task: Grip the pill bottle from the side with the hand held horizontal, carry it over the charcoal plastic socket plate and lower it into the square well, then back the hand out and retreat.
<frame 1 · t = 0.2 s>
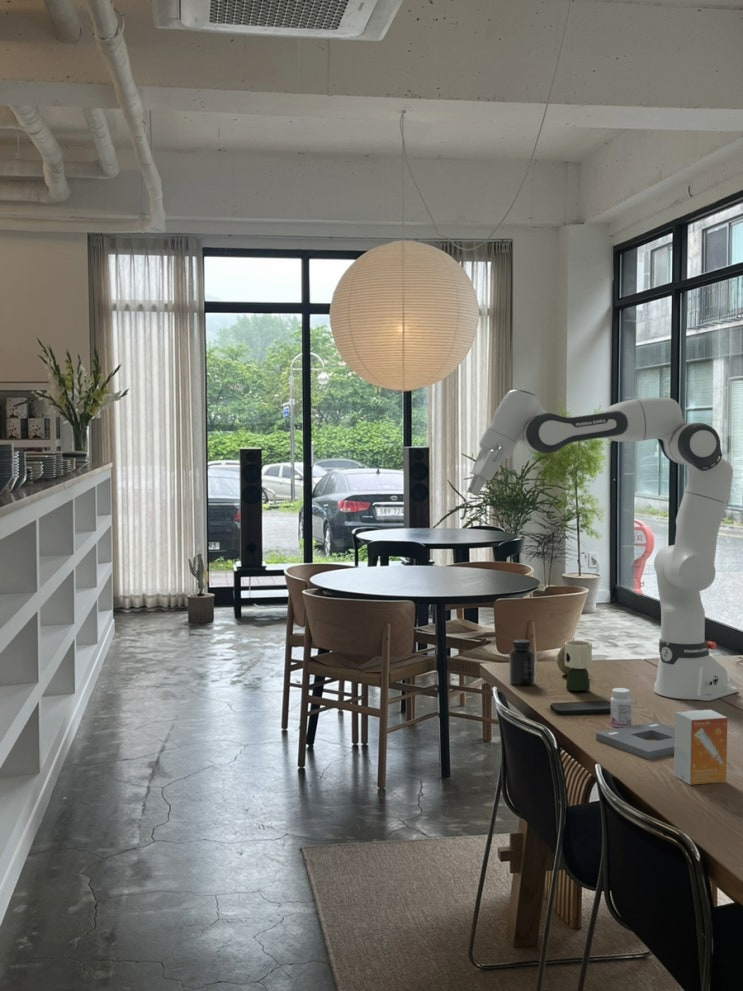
hand: (472, 492, 259), 54 cm above the table, tool tilted 30°, fingers open, 8 cm apart
character mug: (577, 691, 266), on the table
socket plate: (651, 742, 219), on the table
small box: (700, 780, 196), on the table
pill bottle: (620, 725, 234), on the table
supplement bottle: (521, 684, 274), on the table
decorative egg: (569, 675, 284), on the table
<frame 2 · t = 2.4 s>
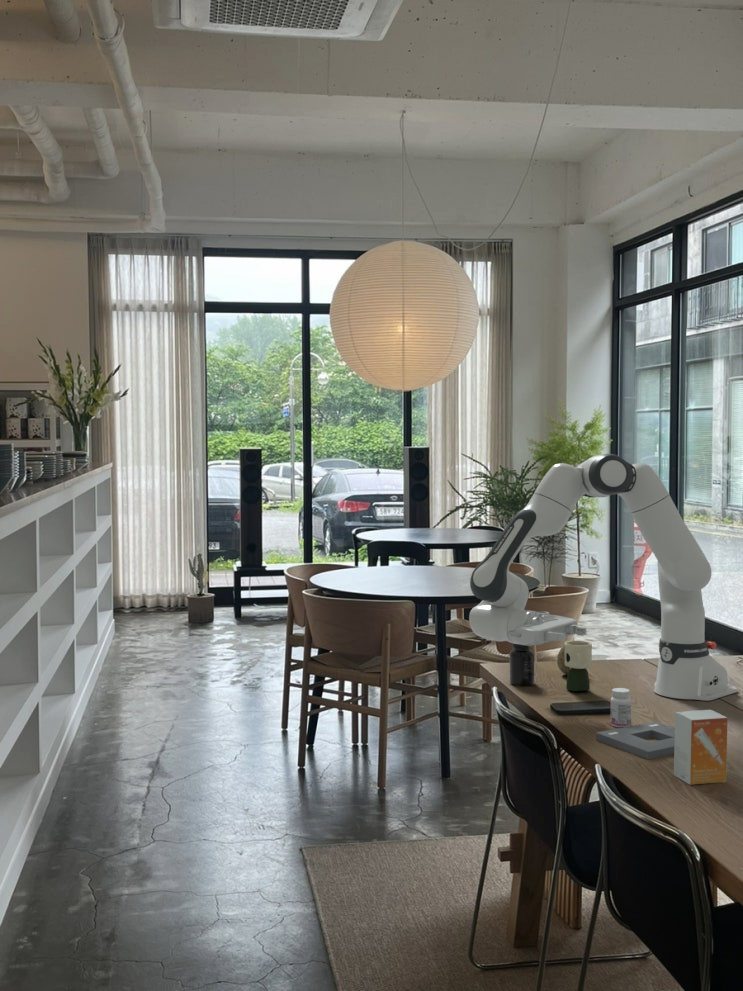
hand: (575, 634, 240), 20 cm above the table, tool horizontal, fingers open, 8 cm apart
nothing on the table moved.
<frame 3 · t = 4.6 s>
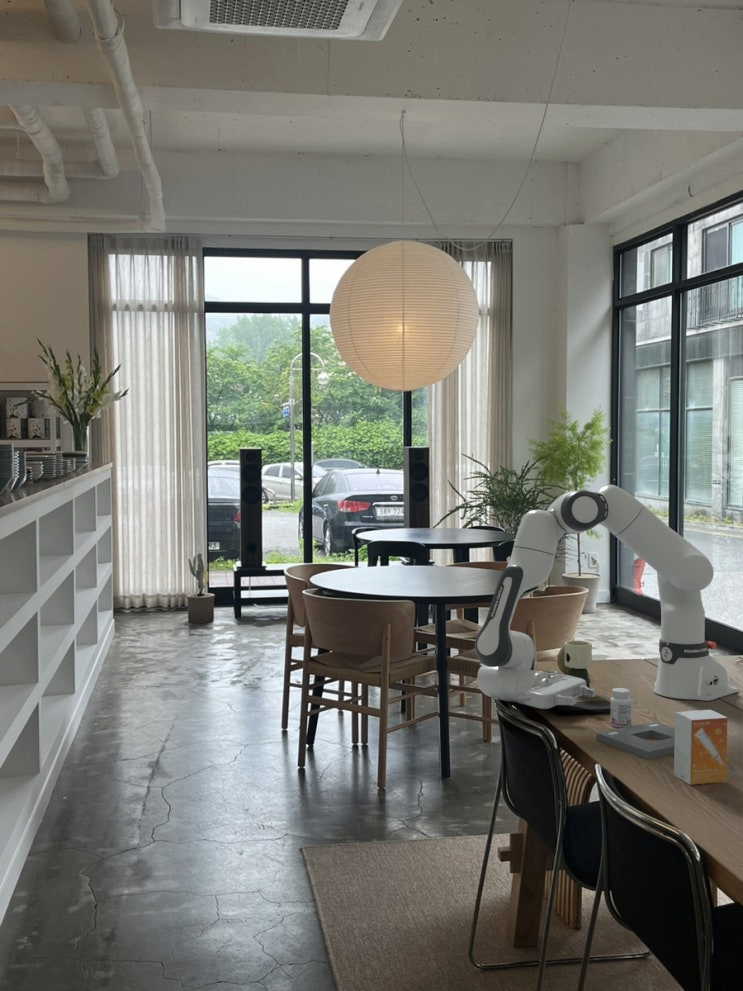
hand: (584, 697, 240), 5 cm above the table, tool horizontal, fingers open, 8 cm apart
nothing on the table moved.
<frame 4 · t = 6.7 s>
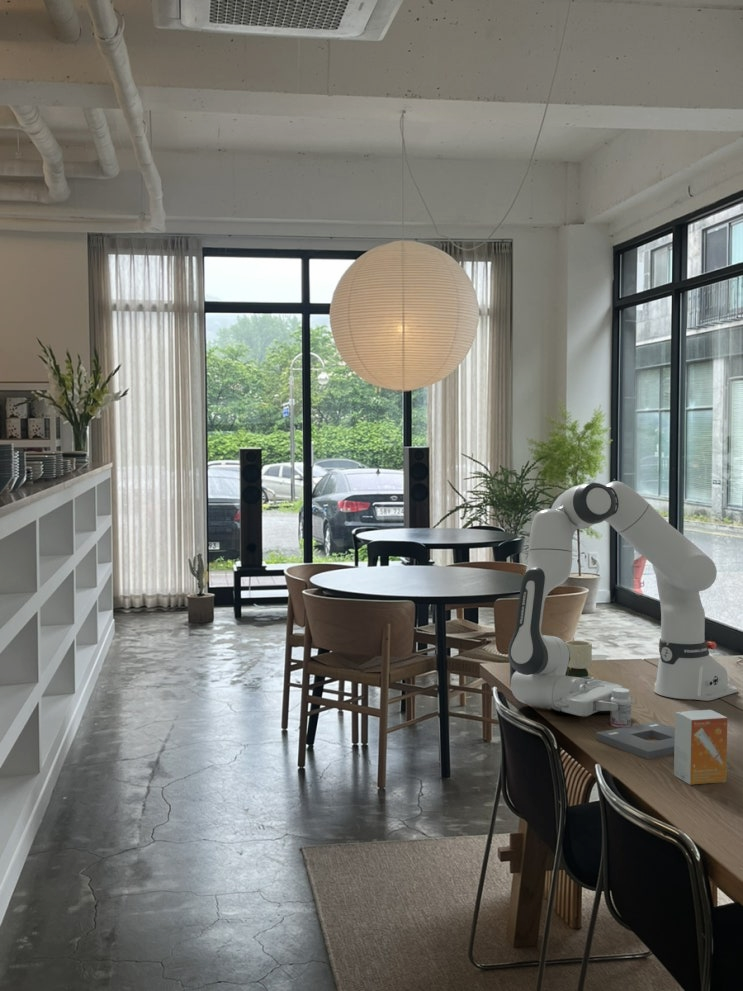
hand: (624, 704, 233), 5 cm above the table, tool horizontal, fingers closed on pill bottle, 5 cm apart
pill bottle: (620, 725, 234), on the table, touching gripper
everything else where it was.
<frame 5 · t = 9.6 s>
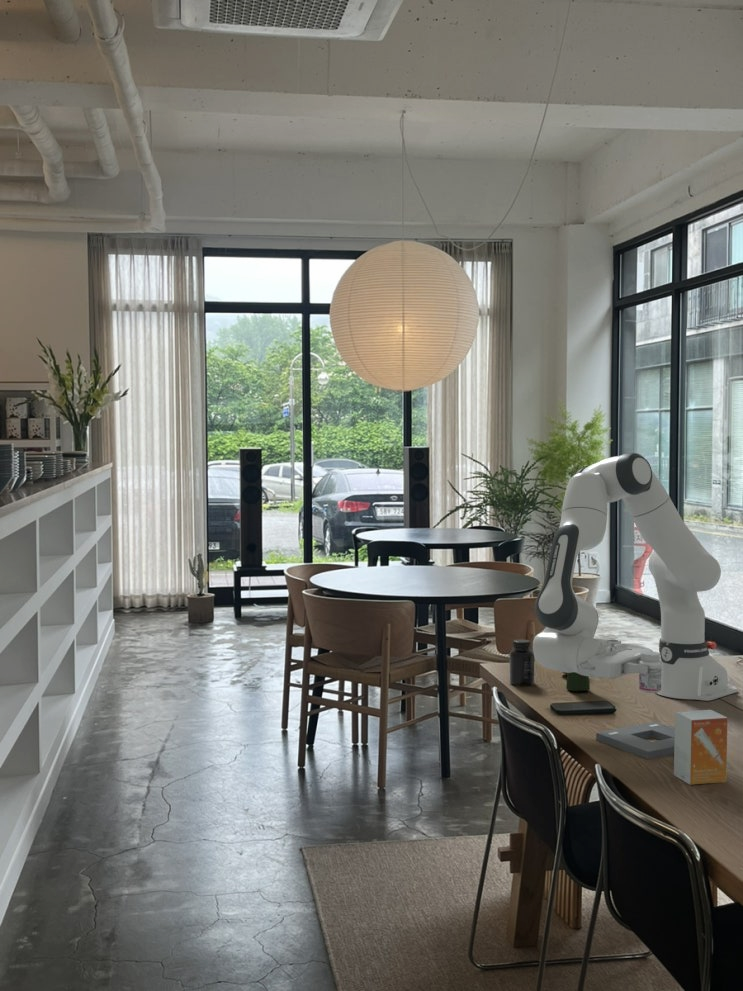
hand: (654, 667, 218), 17 cm above the table, tool horizontal, fingers closed on pill bottle, 5 cm apart
pill bottle: (649, 691, 219), point 11 cm above the table, touching gripper
everything else where it was.
when the fingers open (7 cm above the table, at t = 12.0 s): pill bottle drops 1 cm, resting in socket plate.
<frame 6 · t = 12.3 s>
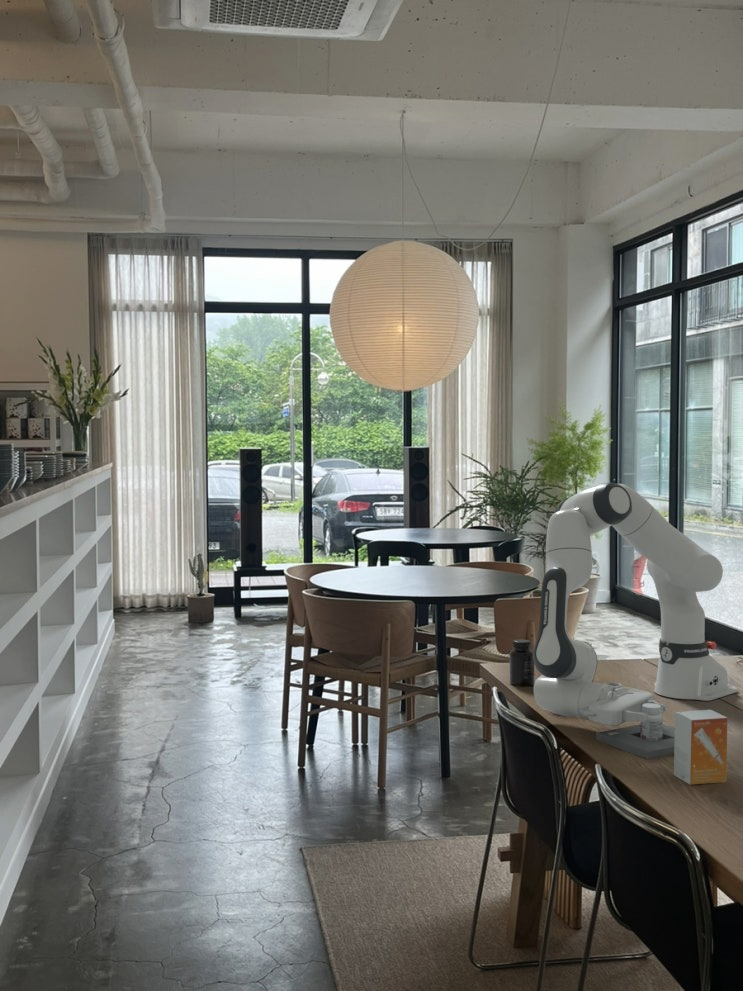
hand: (655, 713, 218), 7 cm above the table, tool horizontal, fingers open, 8 cm apart
pill bottle: (651, 743, 220), resting in socket plate
everything else where it was.
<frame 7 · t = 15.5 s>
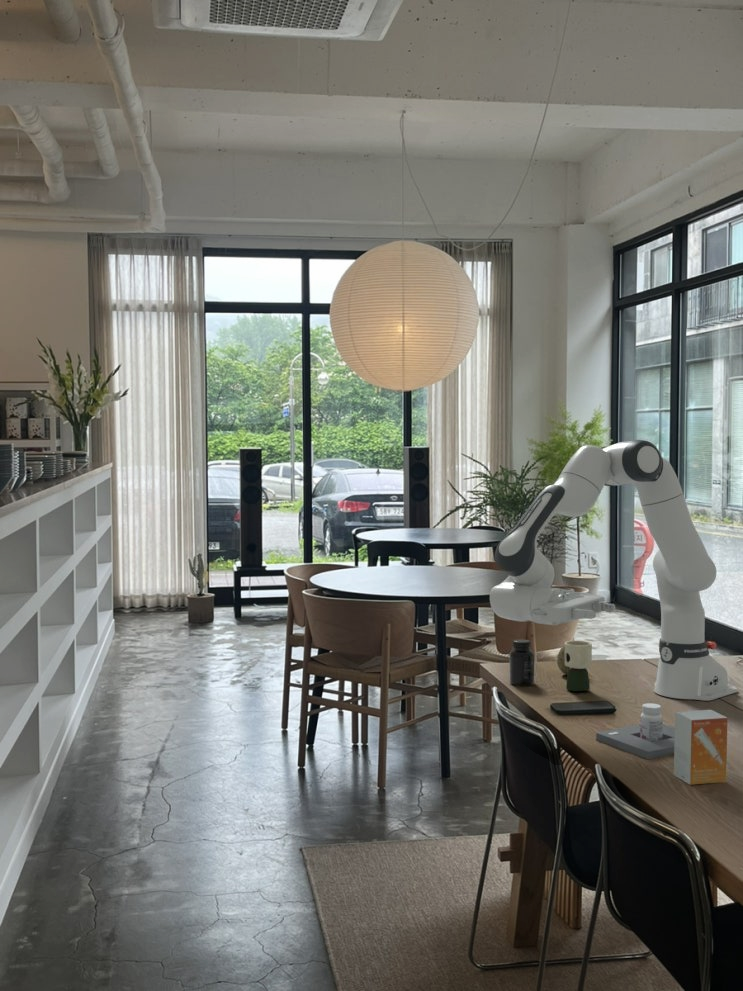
hand: (604, 611, 226), 28 cm above the table, tool horizontal, fingers open, 8 cm apart
nothing on the table moved.
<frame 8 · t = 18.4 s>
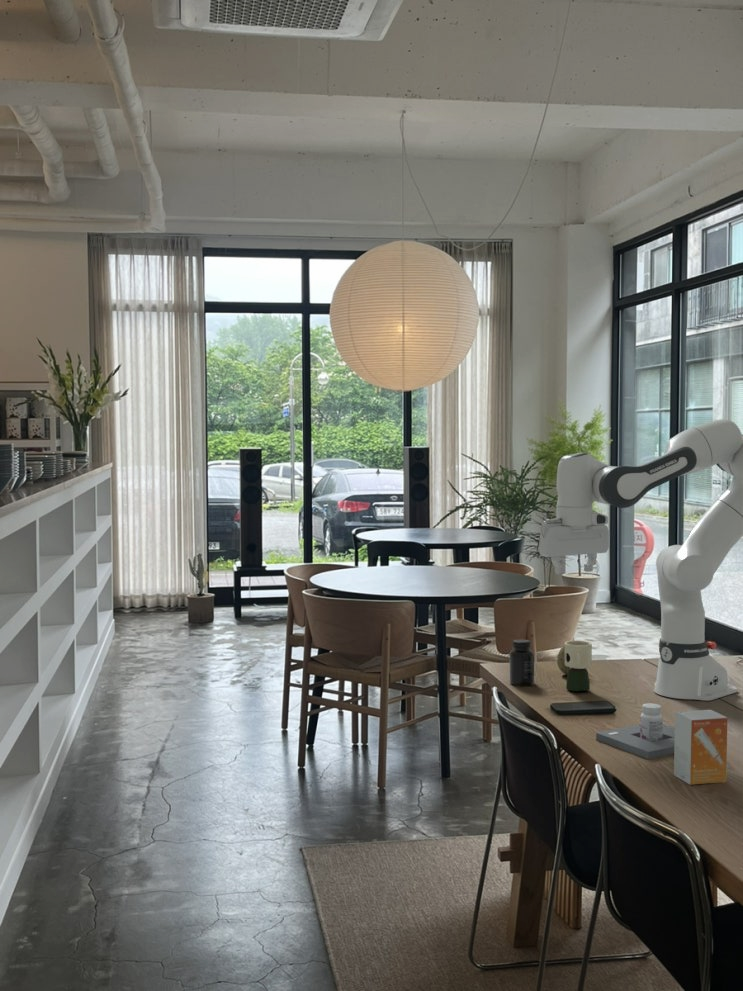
hand: (574, 572, 248), 34 cm above the table, tool pointing down, fingers open, 8 cm apart
nothing on the table moved.
at the end: pill bottle 0.1 cm off-centre on the socket plate, point 0.0 cm above the socket plate's base; pill bottle tilted 0°; the gripper is holding nothing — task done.
